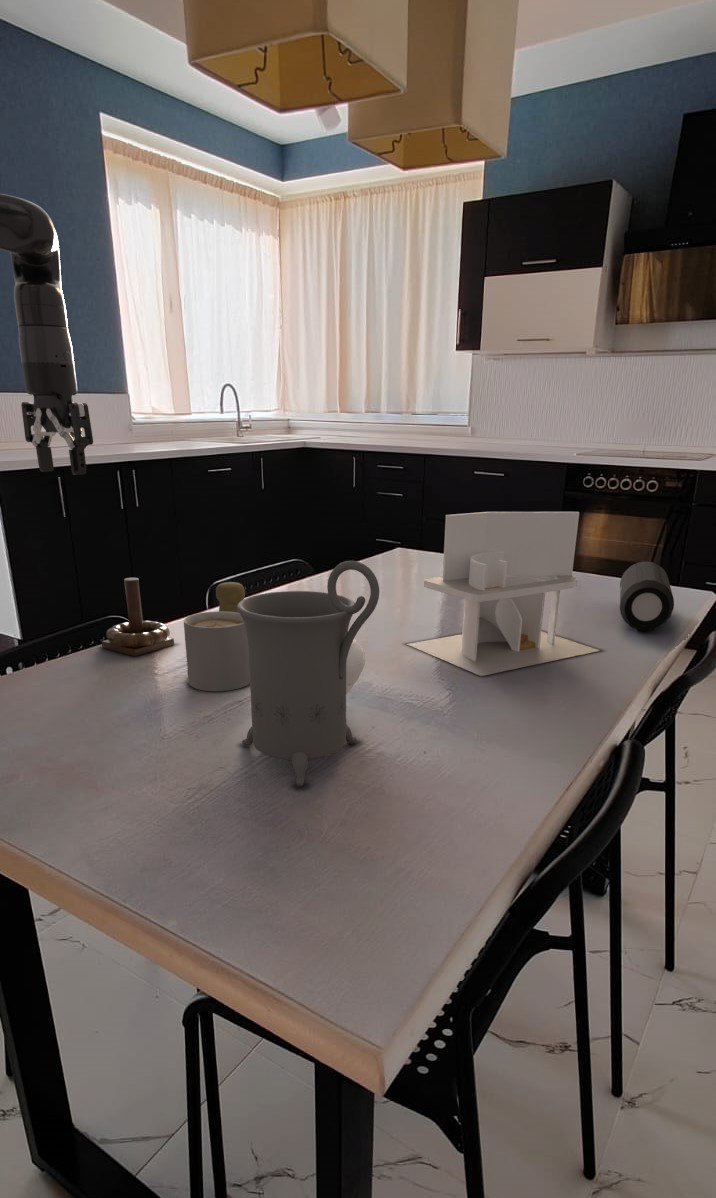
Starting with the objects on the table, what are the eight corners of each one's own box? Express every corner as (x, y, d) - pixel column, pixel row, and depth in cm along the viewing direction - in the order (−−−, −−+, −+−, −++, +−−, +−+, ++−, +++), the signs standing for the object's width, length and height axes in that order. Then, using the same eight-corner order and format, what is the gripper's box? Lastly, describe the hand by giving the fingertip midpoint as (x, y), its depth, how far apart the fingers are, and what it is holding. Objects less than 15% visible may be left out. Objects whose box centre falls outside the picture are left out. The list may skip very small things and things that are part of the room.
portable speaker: (617, 602, 173) (623, 557, 169) (663, 606, 170) (671, 560, 166) (616, 631, 151) (623, 581, 147) (670, 636, 148) (679, 584, 144)
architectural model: (481, 676, 125) (492, 529, 116) (406, 644, 142) (410, 513, 133) (600, 650, 139) (618, 517, 130) (519, 624, 155) (530, 504, 146)
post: (102, 647, 138) (93, 579, 133) (141, 636, 145) (134, 571, 140) (135, 656, 133) (127, 586, 129) (174, 644, 140) (168, 578, 135)
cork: (210, 645, 140) (206, 585, 136) (225, 636, 145) (222, 578, 141) (241, 648, 138) (238, 587, 134) (255, 639, 144) (252, 580, 139)
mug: (209, 766, 93) (193, 559, 83) (273, 725, 106) (266, 539, 96) (347, 799, 86) (348, 576, 76) (399, 750, 98) (405, 552, 88)
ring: (94, 641, 137) (93, 628, 136) (142, 628, 145) (141, 616, 144) (135, 652, 132) (133, 639, 131) (182, 638, 140) (181, 625, 139)
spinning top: (346, 719, 107) (346, 636, 103) (301, 709, 111) (300, 628, 106) (374, 703, 114) (375, 624, 109) (330, 693, 117) (330, 616, 112)
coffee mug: (229, 695, 116) (225, 630, 112) (175, 685, 120) (170, 623, 116) (274, 669, 127) (272, 610, 123) (223, 661, 131) (220, 604, 127)
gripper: (-2, 360, 118) (16, 472, 124) (54, 358, 110) (70, 477, 117) (41, 363, 124) (56, 469, 130) (97, 361, 116) (110, 474, 123)
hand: (63, 472), depth 123 cm, fingers open, 8 cm apart
